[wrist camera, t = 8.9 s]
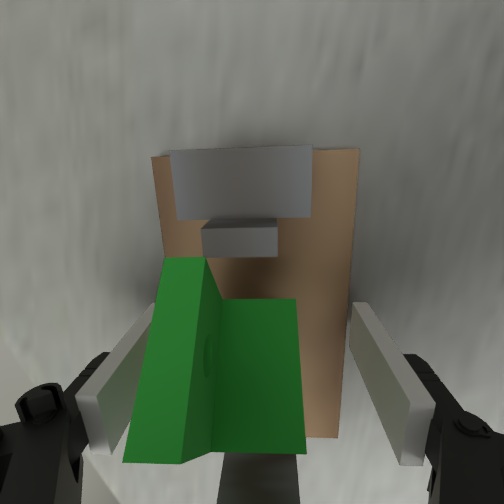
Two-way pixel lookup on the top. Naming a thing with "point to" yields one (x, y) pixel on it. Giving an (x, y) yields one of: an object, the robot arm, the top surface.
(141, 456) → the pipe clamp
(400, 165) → the top surface
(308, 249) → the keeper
